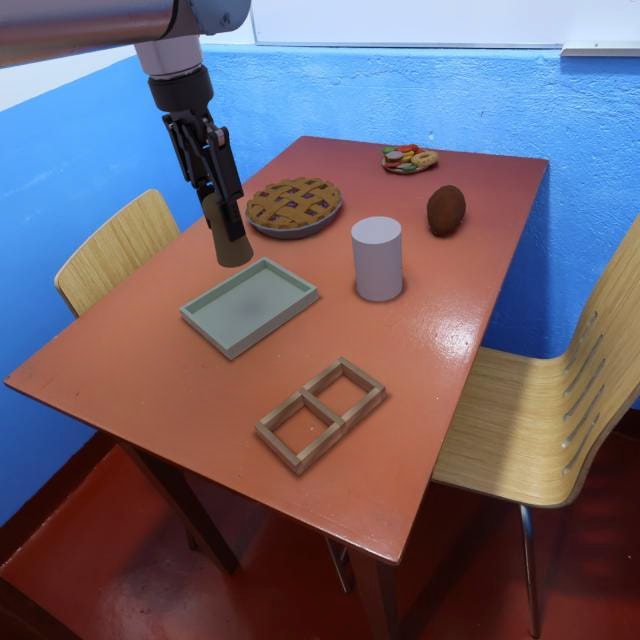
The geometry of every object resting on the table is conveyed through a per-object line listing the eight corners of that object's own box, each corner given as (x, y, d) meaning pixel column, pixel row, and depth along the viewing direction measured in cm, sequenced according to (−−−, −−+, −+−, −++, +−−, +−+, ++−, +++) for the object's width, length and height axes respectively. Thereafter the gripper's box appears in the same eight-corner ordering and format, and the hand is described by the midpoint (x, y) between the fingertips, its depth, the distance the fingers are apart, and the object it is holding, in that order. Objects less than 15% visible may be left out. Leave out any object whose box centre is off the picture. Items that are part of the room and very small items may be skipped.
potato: (420, 238, 94) (420, 203, 88) (431, 208, 101) (432, 174, 96) (459, 241, 91) (462, 205, 86) (467, 211, 99) (470, 175, 93)
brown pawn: (261, 250, 77) (244, 189, 69) (237, 271, 73) (216, 209, 66) (234, 242, 80) (215, 183, 72) (209, 262, 76) (187, 202, 69)
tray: (230, 360, 76) (226, 349, 74) (183, 318, 86) (178, 308, 84) (319, 298, 85) (317, 287, 83) (267, 266, 94) (264, 256, 92)
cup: (411, 288, 83) (411, 230, 75) (373, 307, 81) (369, 250, 73) (384, 267, 89) (381, 211, 81) (348, 284, 86) (341, 228, 78)
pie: (302, 253, 96) (298, 232, 92) (229, 228, 107) (223, 209, 103) (362, 203, 107) (360, 183, 104) (290, 185, 118) (286, 166, 115)
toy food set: (443, 169, 114) (444, 156, 111) (391, 181, 113) (390, 169, 110) (422, 148, 123) (422, 136, 121) (374, 159, 122) (373, 147, 120)
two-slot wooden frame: (298, 476, 60) (295, 466, 58) (257, 435, 65) (253, 425, 63) (386, 397, 67) (385, 386, 65) (343, 366, 72) (341, 355, 70)
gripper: (242, 69, 54) (281, 239, 69) (167, 53, 65) (215, 204, 80) (186, 90, 50) (240, 264, 66) (117, 70, 61) (178, 223, 77)
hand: (227, 231), depth 73 cm, fingers closed on brown pawn, 5 cm apart
